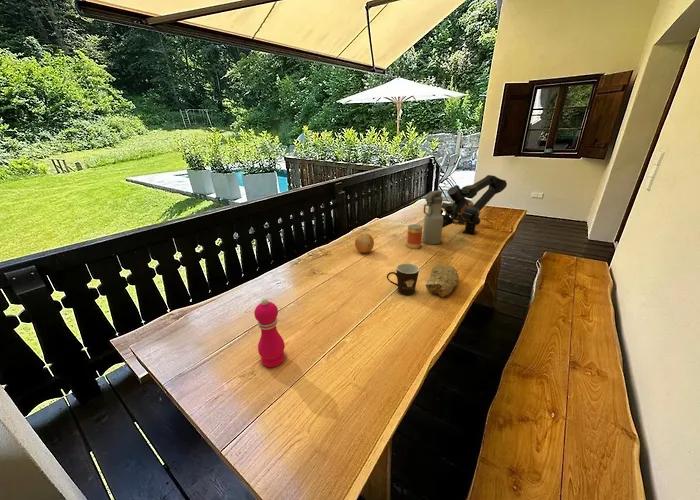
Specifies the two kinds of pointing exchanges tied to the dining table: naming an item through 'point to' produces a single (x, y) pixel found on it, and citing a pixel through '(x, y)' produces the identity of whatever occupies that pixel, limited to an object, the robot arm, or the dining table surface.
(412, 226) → the tin can
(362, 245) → the onion
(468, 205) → the stone cup
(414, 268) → the coffee mug
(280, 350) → the pepper mill
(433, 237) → the water bottle
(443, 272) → the rock
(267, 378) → the dining table surface
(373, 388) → the dining table surface
